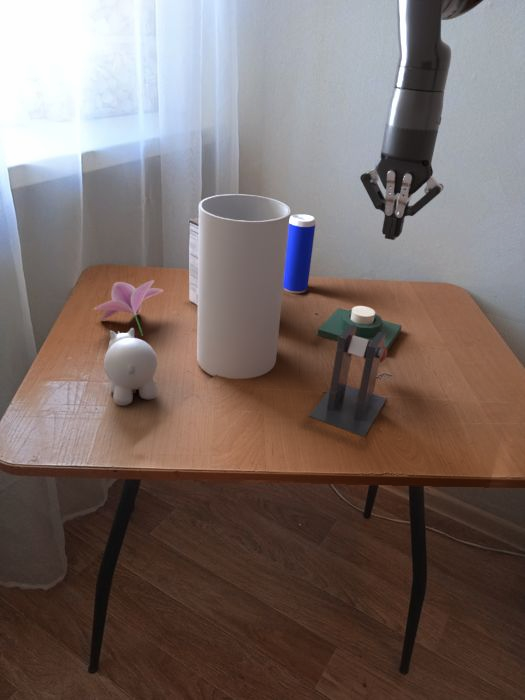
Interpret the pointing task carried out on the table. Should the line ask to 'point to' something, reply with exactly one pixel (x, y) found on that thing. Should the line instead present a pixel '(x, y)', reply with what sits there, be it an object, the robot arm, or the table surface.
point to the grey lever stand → (352, 388)
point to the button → (362, 315)
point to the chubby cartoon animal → (130, 367)
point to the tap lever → (362, 347)
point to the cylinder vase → (240, 283)
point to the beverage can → (299, 253)
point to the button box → (358, 327)
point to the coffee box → (193, 259)
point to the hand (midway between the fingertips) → (390, 237)
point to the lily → (127, 299)
